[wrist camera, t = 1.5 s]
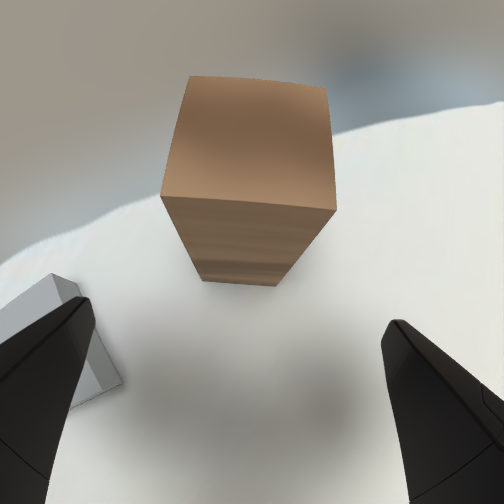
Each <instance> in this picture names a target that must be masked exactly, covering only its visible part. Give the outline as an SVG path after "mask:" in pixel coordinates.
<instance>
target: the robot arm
mask: <svg viewBox="0 0 504 504" xmlns="http://www.w3.org/2000/svg"><path fill="white" fill-rule="evenodd" d="M94 327H95V316H94V312H93V309H92V305H91V302H90V299H89V298H87V297H83V296H75V297H74V298H72V299H70V300H69V301H67V302H65V303H64V304H62V305H60V306H59V307H57V308H56V309H54V310H52V311H51V312H49V313H47V314H46V315H44V316H43V317H41V318H40V319H38V320H36V321H35V322H33V323H32V324H30V325H28V326H27V327H25V328H24V329H22V330H21V331H19V332H18V333H16V334H15V335H13V336H11V337H10V338H8V339H7V340H5V341H4V342H2V343H1V344H0V504H45V500H46V495H47V491H48V486H49V480H50V476H51V472H52V468H53V464H54V460H55V456H56V452H57V448H58V445H59V441H60V438H61V434H62V431H63V427H64V424H65V421H66V418H67V414H68V411H69V408H70V405H71V402H72V399H73V396H74V393H75V390H76V387H77V385H78V382H79V379H80V376H81V373H82V370H83V368H84V364H85V361H86V357H87V353H88V349H89V345H90V341H91V338H92V334H93V331H94ZM381 349H382V355H383V361H384V368H385V375H386V382H387V388H388V393H389V397H390V401H391V405H392V410H393V414H394V419H395V423H396V428H397V433H398V437H399V442H400V448H401V453H402V458H403V464H404V470H405V476H406V482H407V489H408V495H409V501H410V502H409V504H504V401H503V400H502V399H500V398H499V397H498V396H497V395H495V394H494V393H493V392H492V391H491V390H489V389H488V388H487V387H486V386H485V385H484V384H482V383H481V382H480V381H479V380H478V379H476V378H475V377H474V376H473V375H472V374H470V373H469V372H468V371H467V370H466V369H464V368H463V367H462V366H461V365H460V364H458V363H457V362H456V361H455V360H454V359H452V358H451V357H450V356H449V355H447V354H446V353H445V352H444V351H442V350H441V349H440V348H439V347H438V346H436V345H435V344H434V343H433V342H431V341H430V340H429V339H428V338H426V337H425V336H424V335H423V334H421V333H420V332H419V331H418V330H416V329H415V328H414V327H412V326H411V325H410V324H409V323H407V322H406V321H405V320H402V319H394V320H391V321H390V322H389V324H388V327H387V329H386V331H385V333H384V335H383V337H382V340H381Z"/></svg>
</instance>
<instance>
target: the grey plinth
mask: <svg viewBox="0 0 504 504" xmlns="http://www.w3.org/2000/svg"><path fill="white" fill-rule="evenodd" d="M75 296H81V293H80V291H79V288H78V286H77V284H76V283H74V282H72V281H69V280H67V279H64V278H62V277H60V276H57V275H55V274H53V273H51V274H49V275H48V276H46V277H45V278H43V279H42V280H40V281H39V282H37V283H36V284H35V285H33V286H32V287H30V288H29V289H28V290H26V291H25V292H23V293H22V294H21V295H19V296H18V297H16V298H15V299H14V300H12V301H11V302H10V303H8V304H7V305H6V306H4V307H3V308H2V309H0V344H1V343H2V342H4V341H5V340H7V339H8V338H10V337H11V336H13V335H15V334H16V333H18V332H19V331H21V330H22V329H24V328H25V327H27V326H28V325H30V324H32V323H33V322H35V321H36V320H38V319H40V318H41V317H43V316H44V315H46V314H47V313H49V312H51V311H52V310H54V309H56V308H57V307H59V306H60V305H62V304H64V303H65V302H67V301H69V300H70V299H72V298H74V297H75ZM122 383H123V381H122V379H121V378H120V376H119V374H118V372H117V370H116V368H115V366H114V365H113V363H112V361H111V359H110V357H109V355H108V353H107V351H106V349H105V347H104V345H103V343H102V341H101V339H100V337H99V334H98V332H97V330H96V328H95V327H94V331H93V334H92V338H91V341H90V345H89V349H88V353H87V357H86V361H85V364H84V368H83V370H82V373H81V376H80V379H79V382H78V385H77V387H76V390H75V393H74V396H73V399H72V402H71V405H70V408H69V409H71V408H73V407H75V406H78V405H80V404H82V403H84V402H86V401H88V400H90V399H92V398H94V397H96V396H98V395H100V394H102V393H104V392H106V391H108V390H110V389H112V388H114V387H116V386H118V385H120V384H122Z"/></svg>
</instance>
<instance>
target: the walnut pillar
mask: <svg viewBox="0 0 504 504" xmlns="http://www.w3.org/2000/svg"><path fill="white" fill-rule="evenodd" d="M160 197H161V199H162V201H163V203H164V205H165V207H166V210H167V212H168V214H169V216H170V218H171V220H172V222H173V224H174V226H175V228H176V230H177V232H178V234H179V236H180V238H181V240H182V242H183V244H184V246H185V248H186V250H187V252H188V254H189V256H190V258H191V260H192V262H193V264H194V266H195V268H196V270H197V272H198V274H199V276H200V278H201V280H202V281H209V282H221V283H234V284H247V285H261V286H276V285H277V284H278V283H279V282H280V281H281V279H282V278H283V277H284V276H285V274H286V273H287V272H288V271H289V270H290V268H291V267H292V266H293V265H294V263H295V262H296V261H297V260H298V259H299V257H300V256H301V255H302V254H303V252H304V251H305V250H306V249H307V247H308V246H309V245H310V244H311V242H312V241H313V240H314V239H315V237H316V236H317V235H318V234H319V232H320V231H321V230H322V228H323V227H324V226H325V225H326V223H327V222H328V221H329V220H330V218H331V217H332V216H333V214H334V213H335V212H336V211H337V204H336V185H335V170H334V157H333V145H332V134H331V124H330V115H329V106H328V98H327V90H326V88H321V87H315V86H308V85H302V84H294V83H287V82H279V81H270V80H260V79H248V78H247V79H246V78H232V77H207V76H190V77H189V80H188V83H187V87H186V90H185V94H184V97H183V101H182V104H181V108H180V112H179V116H178V120H177V123H176V127H175V131H174V135H173V139H172V143H171V147H170V152H169V156H168V160H167V165H166V170H165V174H164V179H163V184H162V189H161V193H160Z"/></svg>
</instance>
